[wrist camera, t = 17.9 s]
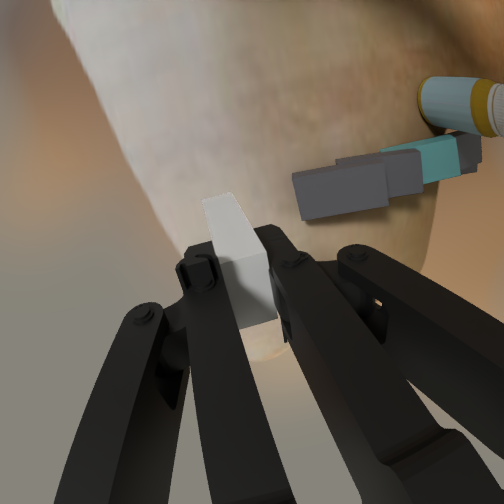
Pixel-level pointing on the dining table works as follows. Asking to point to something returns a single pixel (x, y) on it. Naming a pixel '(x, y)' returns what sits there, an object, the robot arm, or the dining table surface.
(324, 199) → the domino
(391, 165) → the domino
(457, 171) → the domino
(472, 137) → the domino
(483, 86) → the bottle
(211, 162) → the dining table surface
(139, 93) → the dining table surface
